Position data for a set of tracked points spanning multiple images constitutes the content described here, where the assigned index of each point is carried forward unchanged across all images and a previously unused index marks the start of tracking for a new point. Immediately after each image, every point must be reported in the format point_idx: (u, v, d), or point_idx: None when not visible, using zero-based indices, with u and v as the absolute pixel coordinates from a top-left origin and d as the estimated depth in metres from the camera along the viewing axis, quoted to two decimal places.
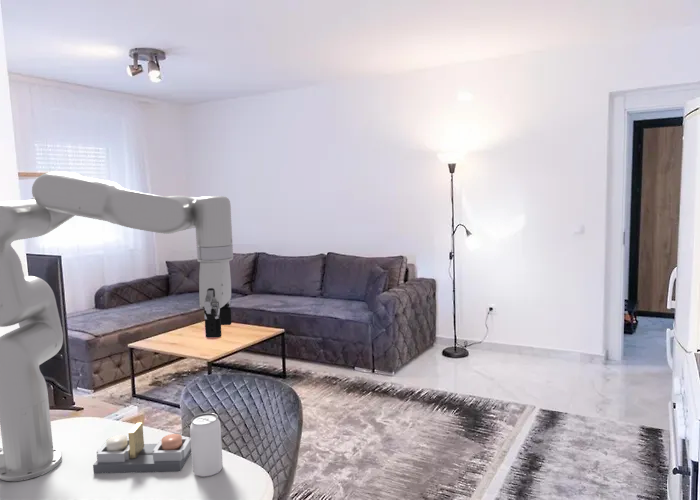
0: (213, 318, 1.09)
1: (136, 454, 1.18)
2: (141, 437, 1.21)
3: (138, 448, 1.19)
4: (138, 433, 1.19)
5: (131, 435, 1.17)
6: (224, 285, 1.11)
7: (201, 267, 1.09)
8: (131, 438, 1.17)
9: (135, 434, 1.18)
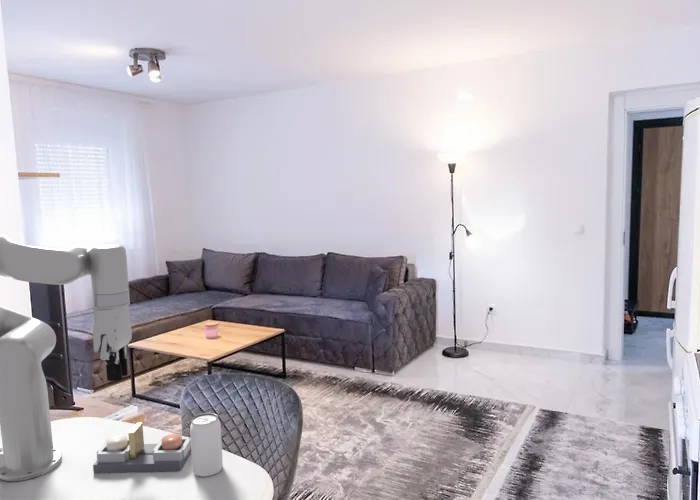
0: (113, 363, 1.17)
1: (136, 454, 1.18)
2: (141, 437, 1.21)
3: (138, 448, 1.19)
4: (138, 433, 1.19)
5: (131, 435, 1.17)
6: (118, 330, 1.17)
7: (94, 314, 1.14)
8: (131, 438, 1.17)
9: (135, 434, 1.18)
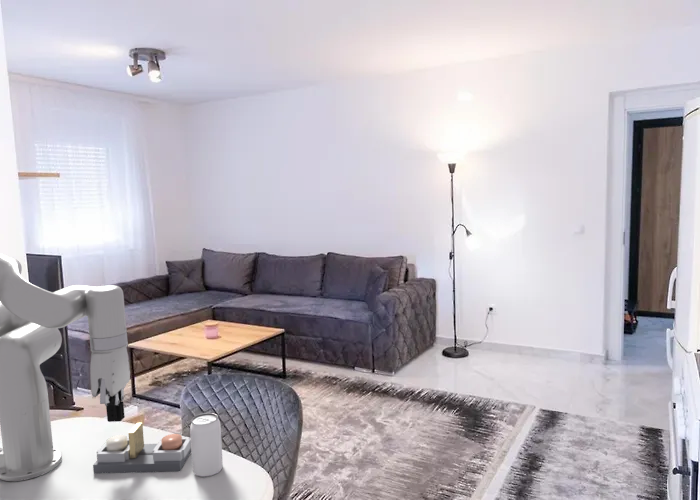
0: (113, 404, 1.17)
1: (136, 454, 1.18)
2: (141, 437, 1.21)
3: (138, 448, 1.19)
4: (138, 433, 1.19)
5: (131, 435, 1.17)
6: (116, 373, 1.15)
7: (92, 358, 1.13)
8: (131, 438, 1.17)
9: (135, 434, 1.18)
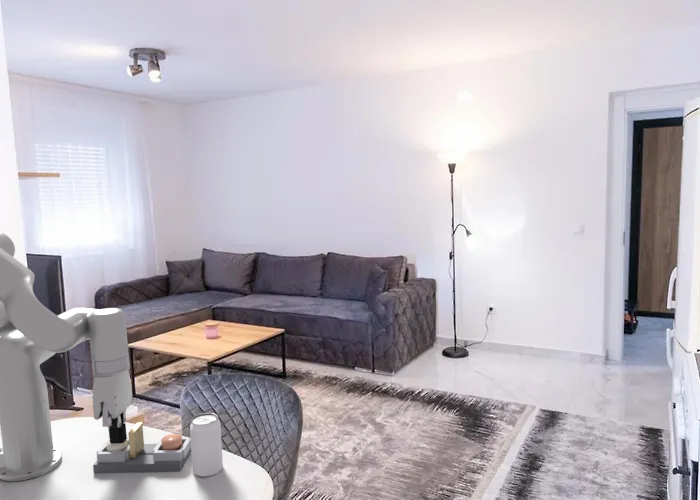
0: (115, 427, 1.17)
1: (136, 454, 1.18)
2: (141, 437, 1.21)
3: (138, 448, 1.19)
4: (138, 433, 1.19)
5: (131, 435, 1.17)
6: (118, 396, 1.15)
7: (94, 381, 1.13)
8: (131, 438, 1.17)
9: (135, 434, 1.18)
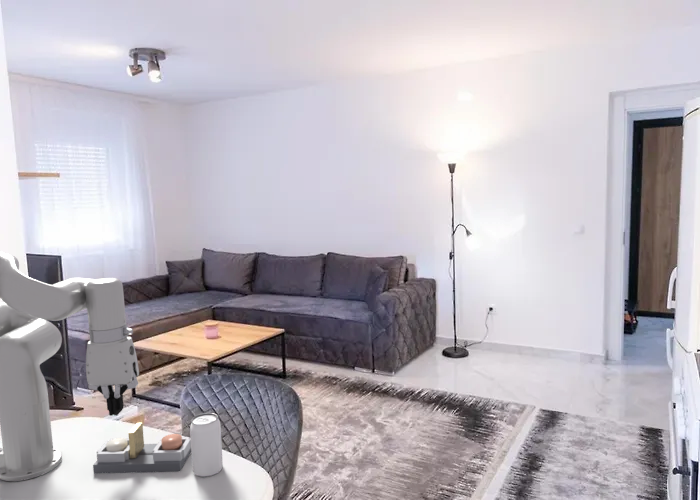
0: None
1: (136, 454, 1.18)
2: (141, 437, 1.21)
3: (138, 448, 1.19)
4: (138, 433, 1.19)
5: (131, 435, 1.17)
6: (94, 366, 1.15)
7: None
8: (131, 438, 1.17)
9: (135, 434, 1.18)
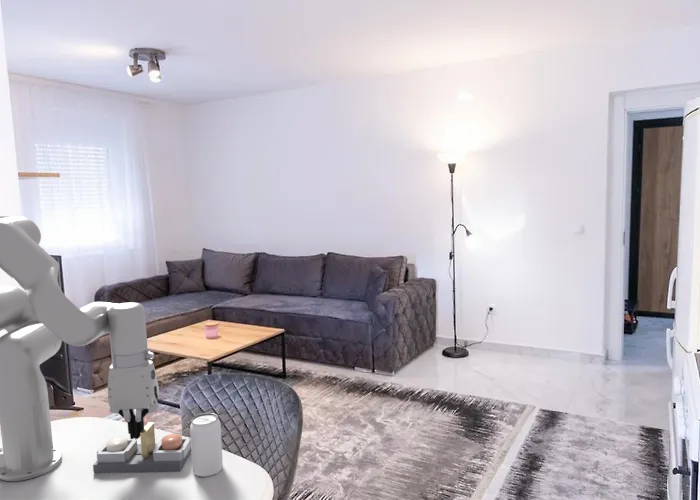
0: None
1: (148, 454, 1.18)
2: (152, 437, 1.21)
3: (150, 448, 1.19)
4: (150, 433, 1.19)
5: (143, 435, 1.17)
6: (116, 390, 1.16)
7: None
8: (143, 438, 1.17)
9: (147, 434, 1.18)
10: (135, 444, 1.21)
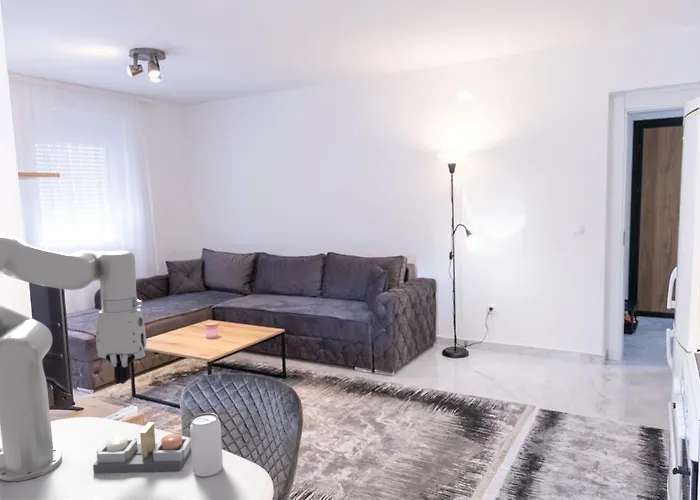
0: None
1: (148, 454, 1.18)
2: (152, 437, 1.21)
3: (150, 448, 1.19)
4: (150, 433, 1.19)
5: (143, 435, 1.17)
6: (103, 335, 1.19)
7: None
8: (143, 438, 1.17)
9: (147, 434, 1.18)
10: (135, 444, 1.21)
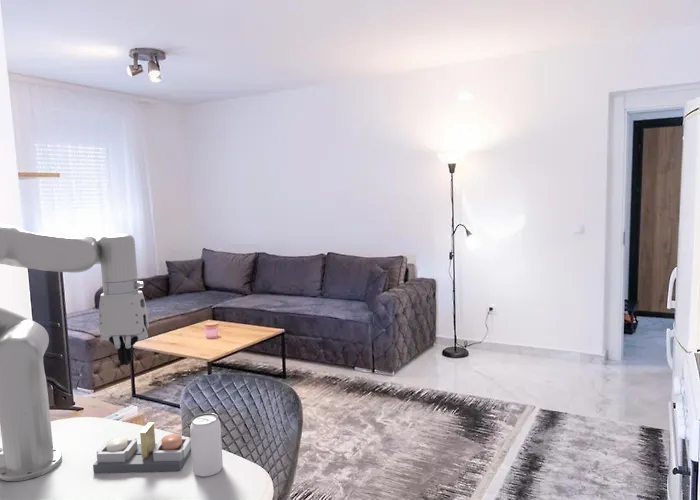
0: None
1: (148, 454, 1.18)
2: (152, 437, 1.21)
3: (150, 448, 1.19)
4: (150, 433, 1.19)
5: (143, 435, 1.17)
6: (106, 317, 1.21)
7: None
8: (143, 438, 1.17)
9: (147, 434, 1.18)
10: (135, 444, 1.21)
